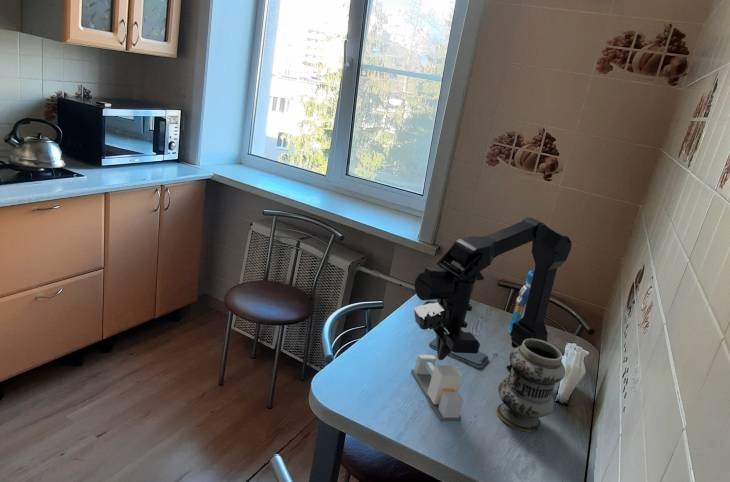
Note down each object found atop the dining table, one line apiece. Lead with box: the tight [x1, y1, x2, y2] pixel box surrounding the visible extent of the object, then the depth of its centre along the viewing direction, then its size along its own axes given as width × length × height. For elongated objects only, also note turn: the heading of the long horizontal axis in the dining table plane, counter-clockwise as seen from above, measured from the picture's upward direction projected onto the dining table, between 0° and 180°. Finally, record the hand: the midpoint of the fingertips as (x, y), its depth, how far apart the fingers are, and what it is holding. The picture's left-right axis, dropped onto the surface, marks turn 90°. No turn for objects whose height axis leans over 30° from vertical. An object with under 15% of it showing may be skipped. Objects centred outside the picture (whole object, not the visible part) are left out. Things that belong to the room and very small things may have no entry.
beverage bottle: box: [507, 270, 534, 334], centre depth 157 cm, size 8×8×20 cm
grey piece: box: [410, 354, 464, 422], centre depth 118 cm, size 5×18×5 cm, turn 15°
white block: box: [427, 364, 463, 404], centre depth 115 cm, size 5×4×7 cm
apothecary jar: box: [496, 339, 566, 433], centre depth 114 cm, size 12×12×18 cm
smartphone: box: [428, 338, 489, 369], centre depth 141 cm, size 8×2×15 cm
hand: (440, 359), depth 118 cm, fingers closed
